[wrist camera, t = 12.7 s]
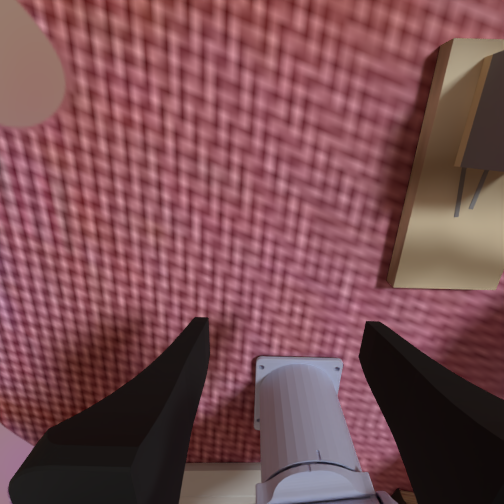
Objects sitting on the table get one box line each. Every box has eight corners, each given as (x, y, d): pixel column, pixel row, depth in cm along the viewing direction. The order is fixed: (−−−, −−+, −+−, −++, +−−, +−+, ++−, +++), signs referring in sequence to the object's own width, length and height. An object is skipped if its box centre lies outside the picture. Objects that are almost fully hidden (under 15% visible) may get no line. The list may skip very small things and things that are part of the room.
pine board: (483, 282, 22) (495, 290, 21) (386, 280, 22) (393, 287, 21) (572, 48, 16) (596, 41, 15) (440, 45, 16) (454, 37, 15)
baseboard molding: (320, 514, 36) (327, 454, 32) (325, 544, 33) (333, 483, 29) (88, 515, 37) (63, 457, 32) (74, 545, 34) (45, 485, 29)
